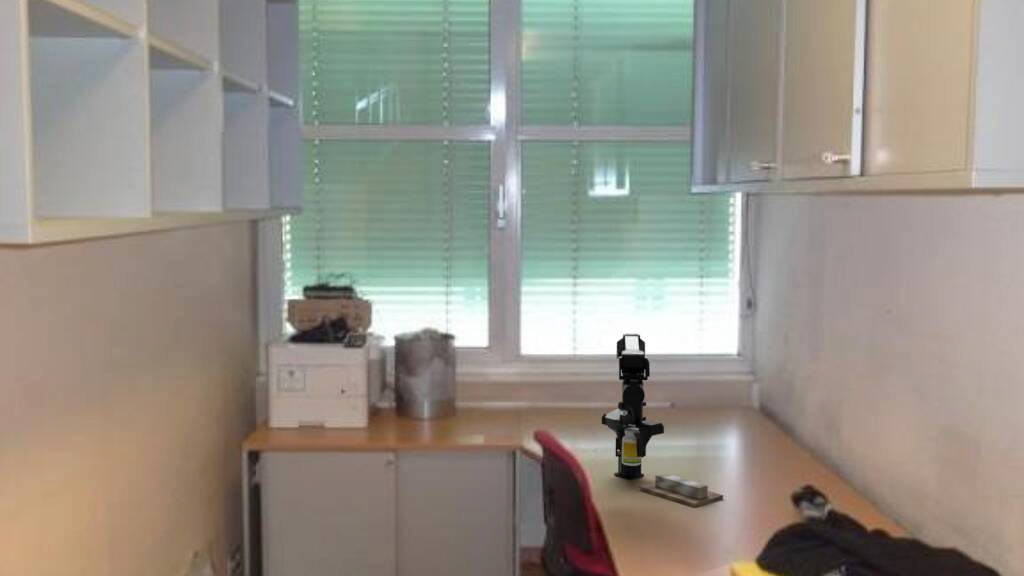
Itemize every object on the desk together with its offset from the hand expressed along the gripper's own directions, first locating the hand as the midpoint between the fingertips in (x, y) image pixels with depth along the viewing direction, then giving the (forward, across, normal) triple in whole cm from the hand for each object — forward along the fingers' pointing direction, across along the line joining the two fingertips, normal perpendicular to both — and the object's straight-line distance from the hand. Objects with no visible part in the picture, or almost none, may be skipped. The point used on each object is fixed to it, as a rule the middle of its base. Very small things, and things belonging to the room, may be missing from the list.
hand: (631, 454), depth 274 cm
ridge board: (+12, +6, +14) cm, 19 cm away
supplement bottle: (+3, 0, 0) cm, 3 cm away
